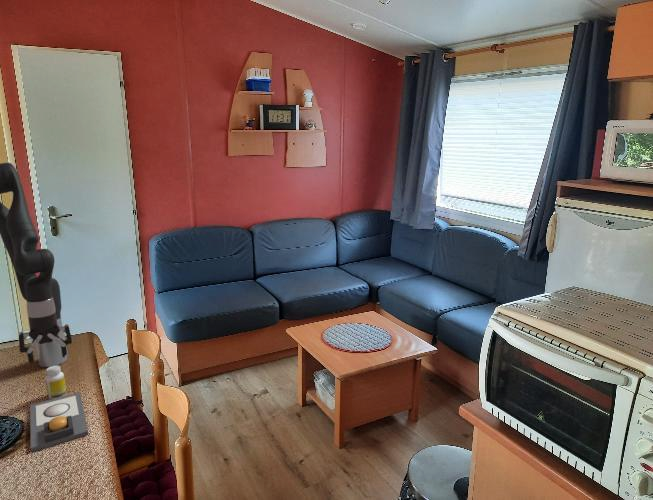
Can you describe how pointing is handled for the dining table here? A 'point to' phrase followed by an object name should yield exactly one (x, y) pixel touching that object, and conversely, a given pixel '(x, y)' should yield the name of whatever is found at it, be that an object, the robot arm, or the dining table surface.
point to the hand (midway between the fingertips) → (48, 359)
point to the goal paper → (56, 410)
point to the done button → (58, 423)
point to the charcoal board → (46, 438)
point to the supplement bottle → (55, 382)
